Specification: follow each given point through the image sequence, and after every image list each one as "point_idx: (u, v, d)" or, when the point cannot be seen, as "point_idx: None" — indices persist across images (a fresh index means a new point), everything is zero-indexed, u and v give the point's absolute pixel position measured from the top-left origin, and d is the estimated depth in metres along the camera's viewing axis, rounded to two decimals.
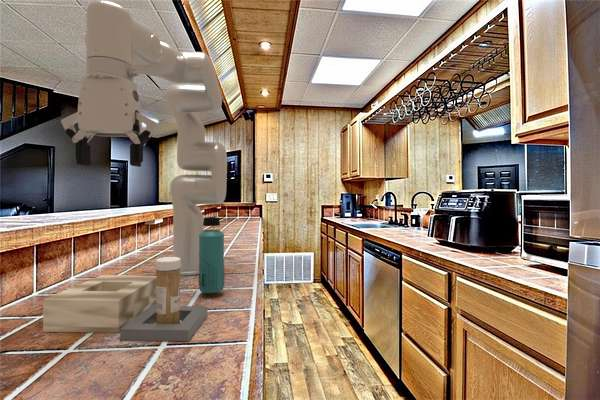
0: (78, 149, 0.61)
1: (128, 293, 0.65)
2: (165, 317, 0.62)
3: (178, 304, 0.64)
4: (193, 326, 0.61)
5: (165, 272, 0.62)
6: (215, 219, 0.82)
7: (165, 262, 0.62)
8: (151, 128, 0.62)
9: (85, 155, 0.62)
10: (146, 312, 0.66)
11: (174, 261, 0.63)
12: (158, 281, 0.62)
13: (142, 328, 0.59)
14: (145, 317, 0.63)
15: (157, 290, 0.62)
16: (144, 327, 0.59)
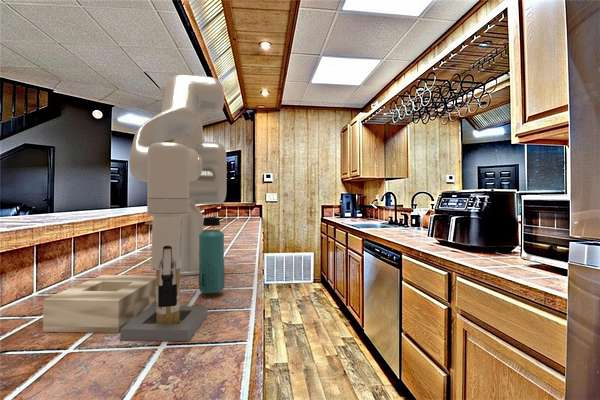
0: (176, 290, 0.62)
1: (128, 293, 0.65)
2: (165, 317, 0.62)
3: (178, 304, 0.64)
4: (193, 326, 0.61)
5: None
6: (215, 219, 0.82)
7: None
8: None
9: None
10: (146, 312, 0.66)
11: None
12: (158, 281, 0.62)
13: (142, 328, 0.59)
14: (145, 317, 0.63)
15: (157, 290, 0.62)
16: (144, 327, 0.59)
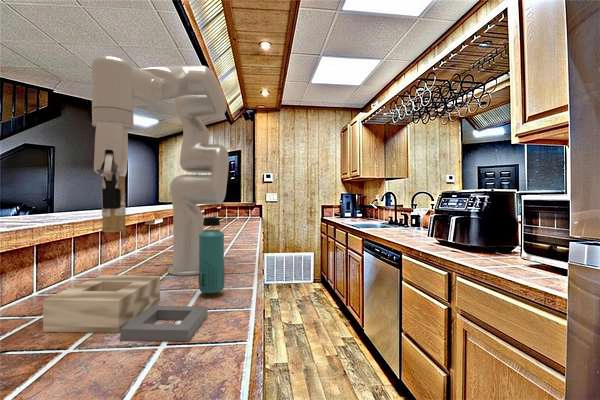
0: (120, 195, 0.68)
1: (128, 293, 0.65)
2: (110, 219, 0.67)
3: (123, 209, 0.69)
4: (193, 326, 0.61)
5: None
6: (215, 219, 0.82)
7: None
8: None
9: None
10: (146, 312, 0.66)
11: None
12: None
13: (142, 328, 0.59)
14: (145, 317, 0.63)
15: None
16: (144, 327, 0.59)
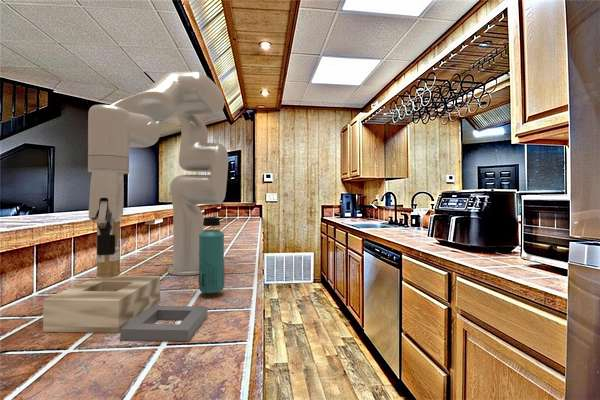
0: (114, 240, 0.68)
1: (128, 293, 0.65)
2: (104, 265, 0.68)
3: (117, 254, 0.69)
4: (193, 326, 0.61)
5: None
6: (215, 219, 0.82)
7: None
8: None
9: None
10: (146, 312, 0.66)
11: None
12: None
13: (142, 328, 0.59)
14: (145, 317, 0.63)
15: None
16: (144, 327, 0.59)
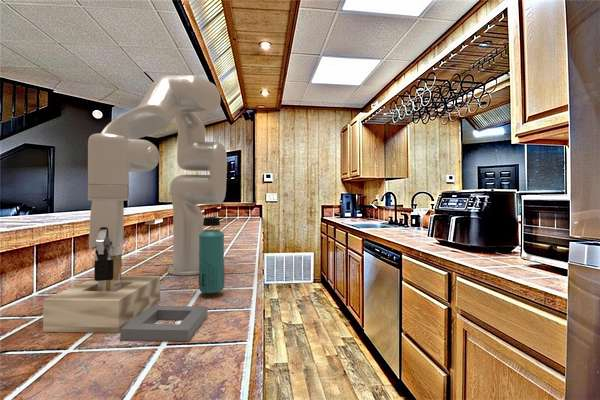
0: None
1: (128, 293, 0.65)
2: None
3: (118, 287, 0.70)
4: (193, 326, 0.61)
5: None
6: (215, 219, 0.82)
7: None
8: None
9: None
10: (146, 312, 0.66)
11: (114, 248, 0.69)
12: None
13: (142, 328, 0.59)
14: (145, 317, 0.63)
15: None
16: (144, 327, 0.59)
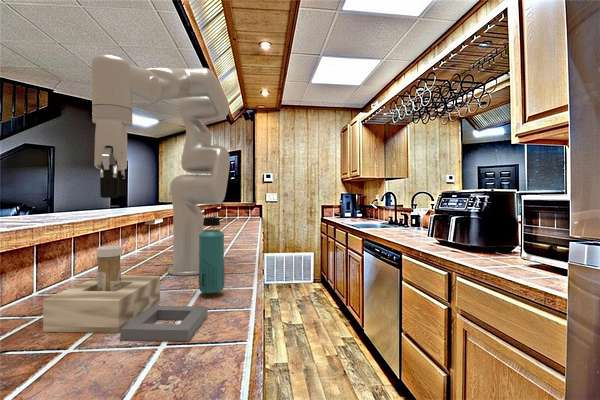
0: (118, 184, 0.68)
1: (128, 293, 0.65)
2: None
3: (118, 288, 0.70)
4: (193, 326, 0.61)
5: (104, 259, 0.68)
6: (215, 219, 0.82)
7: (104, 249, 0.68)
8: None
9: None
10: (146, 312, 0.66)
11: (113, 249, 0.69)
12: (98, 267, 0.68)
13: (142, 328, 0.59)
14: (145, 317, 0.63)
15: (98, 275, 0.69)
16: (144, 327, 0.59)
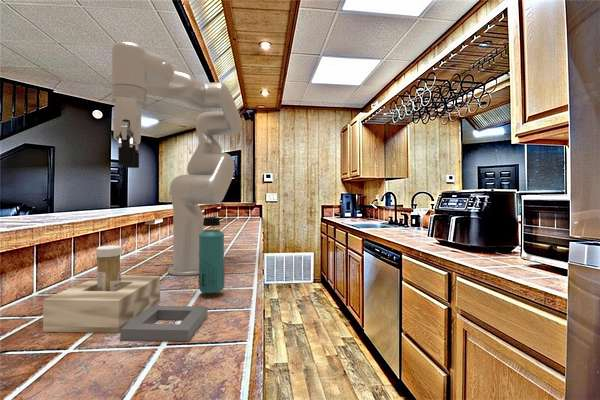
0: (133, 153, 0.77)
1: (128, 293, 0.65)
2: None
3: (118, 288, 0.70)
4: (193, 326, 0.61)
5: (103, 259, 0.68)
6: (215, 219, 0.82)
7: (104, 249, 0.68)
8: None
9: None
10: (146, 312, 0.66)
11: (113, 249, 0.69)
12: (98, 267, 0.68)
13: (142, 328, 0.59)
14: (145, 317, 0.63)
15: (97, 275, 0.68)
16: (144, 327, 0.59)
